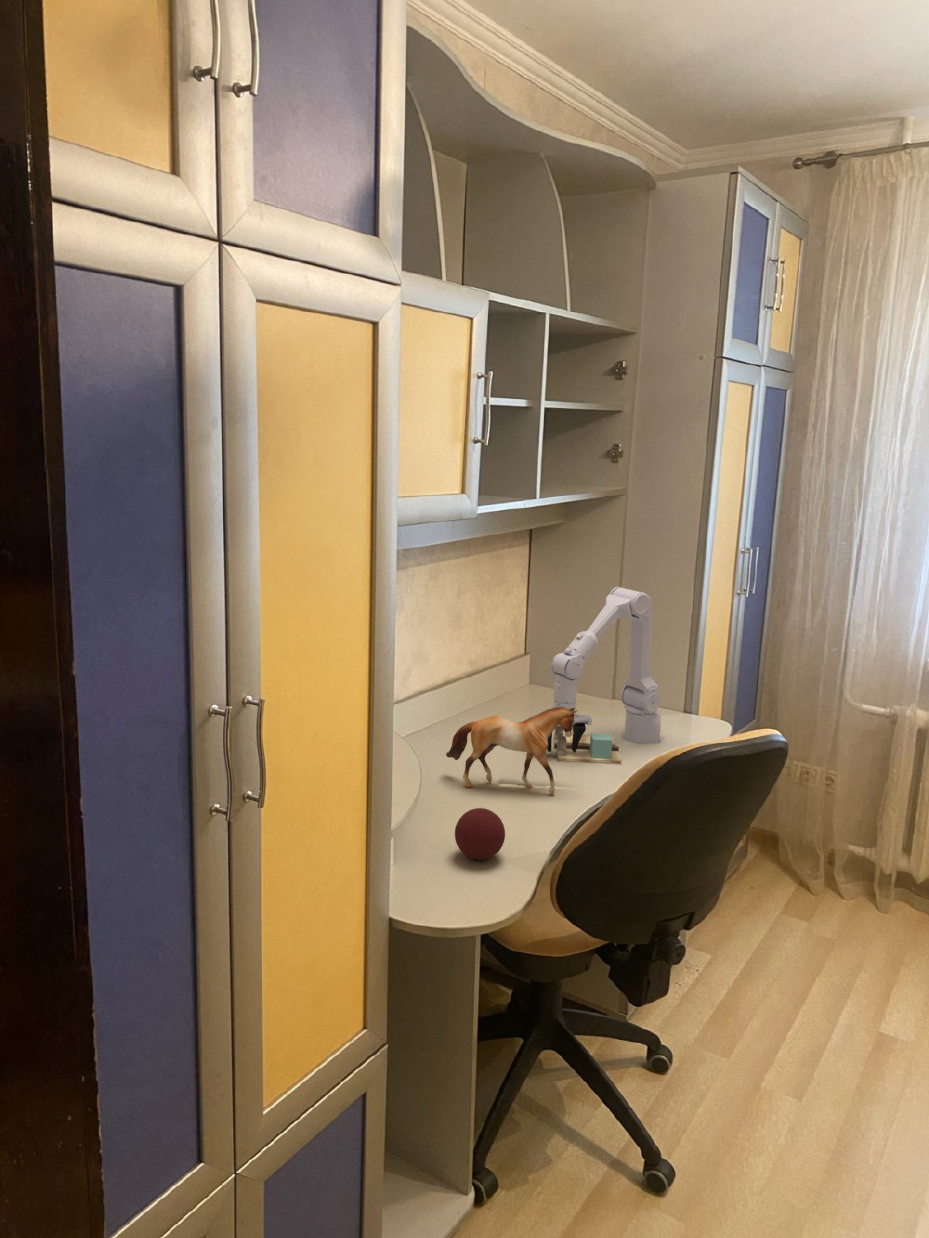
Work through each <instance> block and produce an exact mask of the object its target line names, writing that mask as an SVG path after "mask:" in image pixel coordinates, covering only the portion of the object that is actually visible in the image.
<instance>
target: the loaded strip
mask: <svg viewBox="0 0 929 1238" xmlns="http://www.w3.org/2000/svg"><path fill="white" fill-rule="evenodd" d="M566 744H567V741H566V736H558V742H557V749H555V751H556V756H557V761H558V762H573V763H594V764H595V763H597V764H614V765H615V764H616V765H618V764H619V765H622V759H621V756H620V753H619V752H618V751H612V753H611V759H599V758H591V755H590V750H581V749H576V752H573V751H572V749H566Z"/></svg>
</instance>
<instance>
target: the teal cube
mask: <svg viewBox="0 0 929 1238" xmlns="http://www.w3.org/2000/svg"><path fill="white" fill-rule="evenodd" d="M590 735H591V737H590V755H591V758H599V759H611V753H612V738H611V736H612V735H611V734H610V733H600V732H599V733H597V732H591V733H590Z"/></svg>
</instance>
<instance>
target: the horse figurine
mask: <svg viewBox="0 0 929 1238" xmlns="http://www.w3.org/2000/svg"><path fill="white" fill-rule="evenodd" d="M573 710H575V711H573ZM577 712H578V709H576V707H575V708H571V709H567V708H565V707H556V708H553V707H552V708H548V709H546V710H543V711H541V712H540V713H538V714H535V715H533V716H532V717H531V716H530V717H528V718H526V719H525V720H523V721H511V720H508V719H506V718H503V717H501V716H498V715H491V716H488V717H484V718H481V719H479V720H476V721H471V722H468V723H466V724H464V725H462V726H460V728H459V729H458V730H457V731H456V733H455V734H454V735H453V737H452V740H451V741H452V743H451V747H450V749H449V750H448V751H446V752H445V756H446V757H447V758H449V759H451V758H452V759H454V760H455V761H458V760H459V759H460V758H461V756H462V754H463V753H464V751H465V750H466V747H467V744H468V738H469V737H468V736H469V734H470V742H471V746H472V747H471V748H472V749H473V750H472V753H471V754H470V755H469V756H468V758H466V760H465V766H464V767H465V768H464V772H463V775H462V779H463V780H464V783H463V784H464V786H465V787H467V788H472V787H473V784H472V781H471V780H470V778H469V774H470V773H469V772H470V769H471V767H472V766H473V764H474V763H475V761H477V760H479V762H480V763H481V765H482V767H483V768H484V772H485V773H486V775H485V779H486V781H487V782H488V783H492V780H493V779H492V778H493V777H492V775H493V774H492V773H491V772H492V771H491V769H490V767H489V765H488V763H487V761H486V756H487V755H488V754H489V753H490V752H492V751H493V750H494V749H495V748H496V747H497V746H499V747H501V748H503V749H505V750H510V751H515V752H524V753H526V756H525V759H524V760H525V761H524V764H523V765H524V766H523V768H524V769H523V773H522V777H521V780H522V782H524V787H525V789H529V790H530V789H531V790H532V789H533V785H532V783H531V782H530V781H529V780H528V778H527V776H528V772H529V769H530V766H531V762H532V760H533V758H535V759H536V760H537V761H538V762H539V764H540V765H541V766H542V768H543V769H544V770H545V771H546V773H547V776H548V778H549V785H550V787H549V788H548V793H549V794H550V795H551V796H555V787H556V786H555V785H556V783H555V778H554V774H553V769H552V768H551V766H550V764H549V761H548V757H547V756H546V752H548V750H547V748H548V738H549V736H550V735H551V733H552V734H553V732H554V731H555V728H556V726H557V725H560V726H561V727H562V728H563V732H564V734H565V735H566V736H567V737H571V736H572V735H573V722H574V713H575V714H576V713H577Z"/></svg>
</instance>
